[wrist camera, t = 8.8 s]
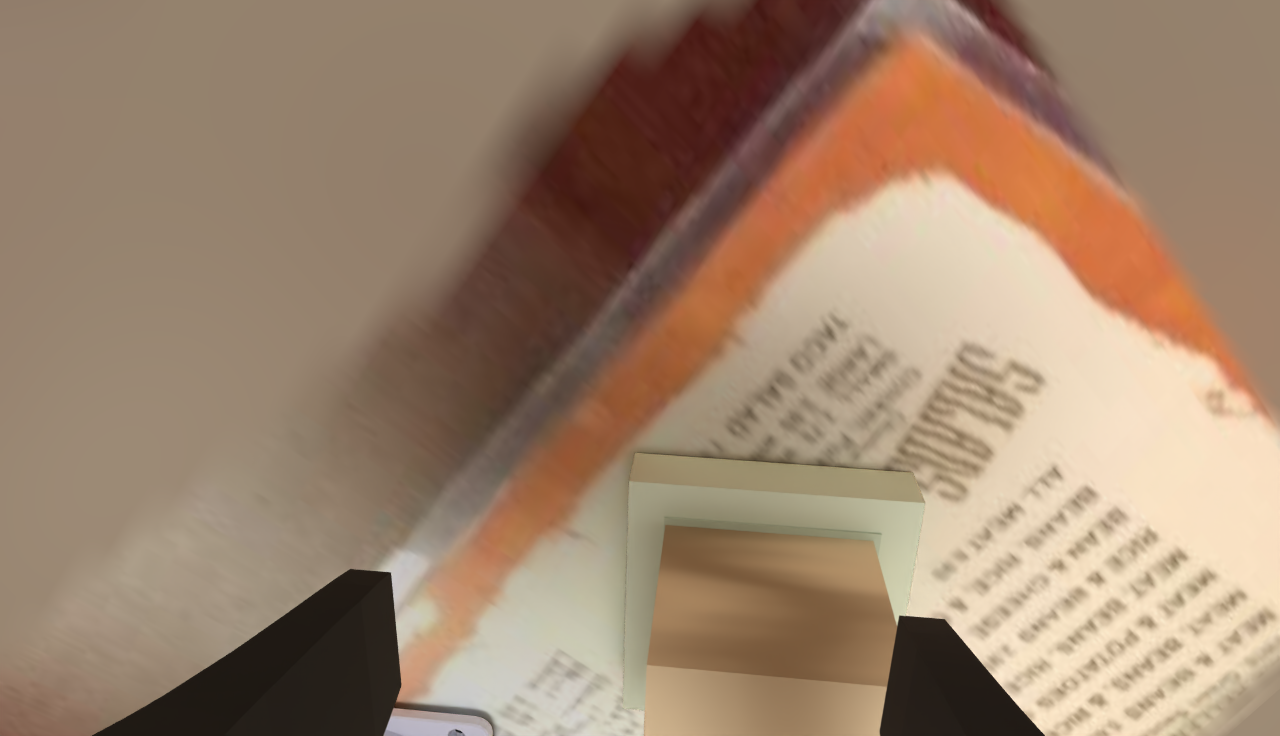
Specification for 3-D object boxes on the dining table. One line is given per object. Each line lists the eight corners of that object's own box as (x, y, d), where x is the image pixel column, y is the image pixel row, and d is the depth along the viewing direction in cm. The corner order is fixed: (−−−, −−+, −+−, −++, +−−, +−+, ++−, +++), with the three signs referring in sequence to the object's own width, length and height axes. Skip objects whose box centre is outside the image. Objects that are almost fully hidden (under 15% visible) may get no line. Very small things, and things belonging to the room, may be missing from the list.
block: (657, 686, 23) (639, 853, 18) (665, 524, 21) (646, 665, 16) (848, 704, 23) (879, 879, 18) (873, 540, 21) (914, 689, 16)
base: (628, 670, 25) (622, 710, 23) (635, 452, 22) (628, 482, 21) (876, 693, 24) (885, 735, 23) (912, 472, 22) (926, 504, 20)
